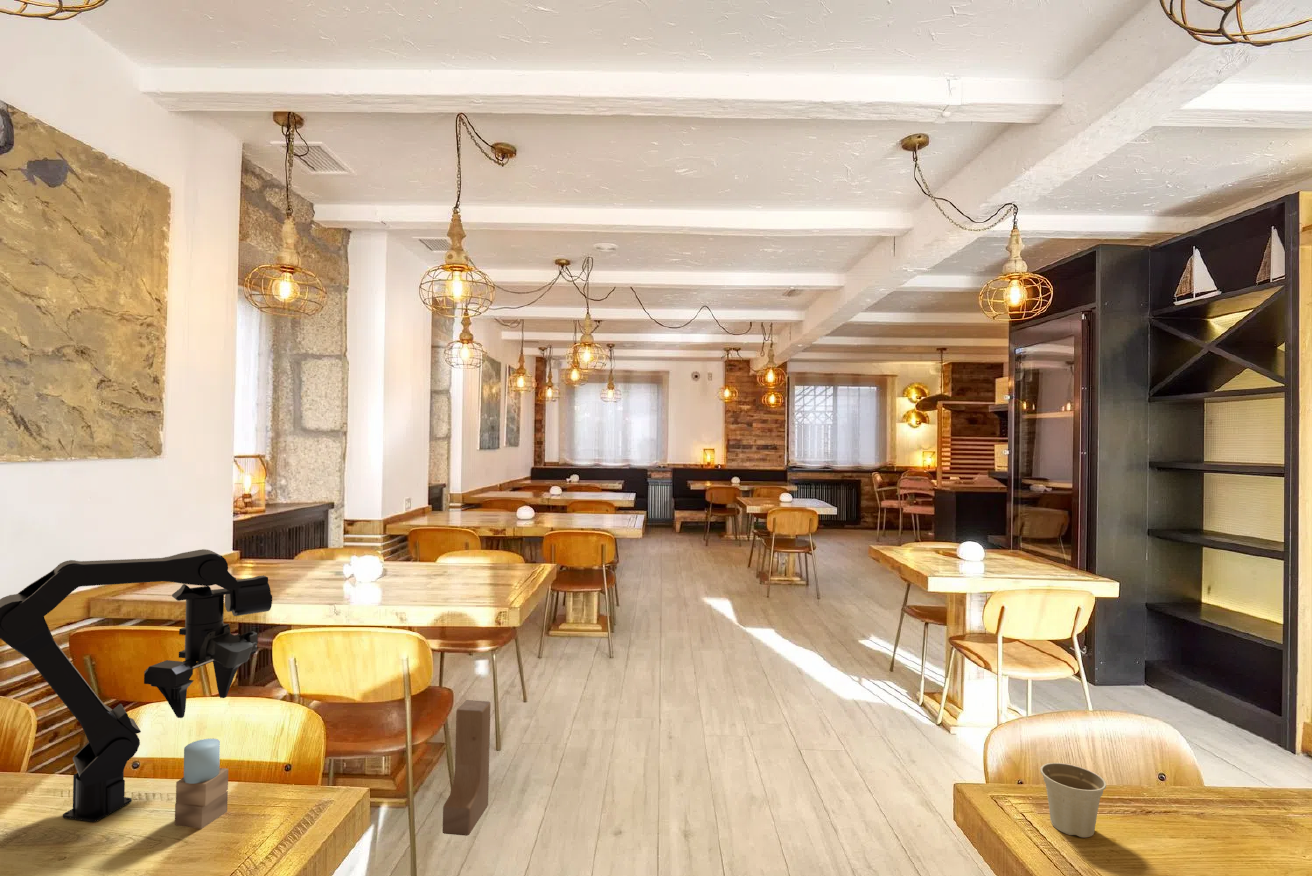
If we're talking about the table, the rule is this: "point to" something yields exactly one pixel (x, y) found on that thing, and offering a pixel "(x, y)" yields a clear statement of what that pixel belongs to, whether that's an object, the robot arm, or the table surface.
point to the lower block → (201, 812)
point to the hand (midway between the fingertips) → (202, 707)
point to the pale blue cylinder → (201, 760)
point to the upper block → (202, 790)
